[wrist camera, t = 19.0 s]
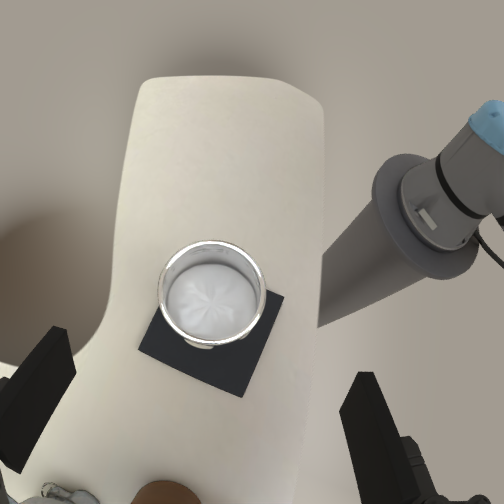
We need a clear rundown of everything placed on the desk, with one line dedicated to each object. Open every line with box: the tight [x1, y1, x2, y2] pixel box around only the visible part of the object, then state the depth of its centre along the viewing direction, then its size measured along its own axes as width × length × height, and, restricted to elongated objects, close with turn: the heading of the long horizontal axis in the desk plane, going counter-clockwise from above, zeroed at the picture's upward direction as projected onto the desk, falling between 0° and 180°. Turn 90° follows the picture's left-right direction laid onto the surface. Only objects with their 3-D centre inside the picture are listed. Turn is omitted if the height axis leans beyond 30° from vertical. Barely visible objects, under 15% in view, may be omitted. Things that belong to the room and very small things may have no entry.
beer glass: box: [158, 240, 266, 353], centre depth 25 cm, size 7×7×15 cm
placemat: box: [138, 289, 284, 398], centre depth 33 cm, size 12×12×1 cm
